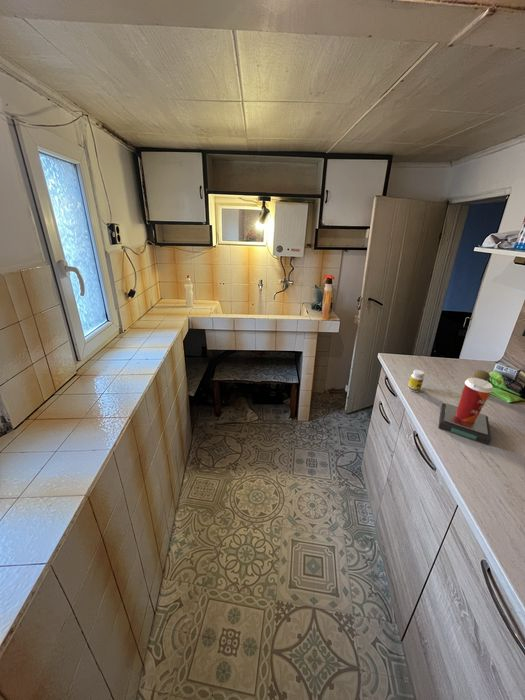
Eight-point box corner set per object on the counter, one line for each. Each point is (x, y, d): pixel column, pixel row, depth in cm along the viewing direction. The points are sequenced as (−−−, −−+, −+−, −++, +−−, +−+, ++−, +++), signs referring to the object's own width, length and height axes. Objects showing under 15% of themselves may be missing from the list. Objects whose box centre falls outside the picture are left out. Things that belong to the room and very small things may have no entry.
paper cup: (476, 427, 92) (493, 391, 86) (450, 417, 97) (463, 382, 91) (480, 417, 97) (495, 382, 91) (455, 407, 102) (468, 374, 96)
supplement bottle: (416, 393, 116) (421, 375, 112) (405, 388, 119) (410, 371, 116) (421, 390, 118) (427, 372, 115) (411, 385, 122) (416, 368, 118)
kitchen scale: (485, 422, 100) (488, 414, 99) (488, 445, 89) (492, 437, 88) (440, 408, 107) (443, 400, 106) (438, 428, 96) (441, 420, 95)
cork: (464, 395, 116) (474, 372, 111) (465, 389, 120) (474, 366, 116) (482, 401, 112) (493, 377, 108) (482, 394, 117) (492, 371, 112)
